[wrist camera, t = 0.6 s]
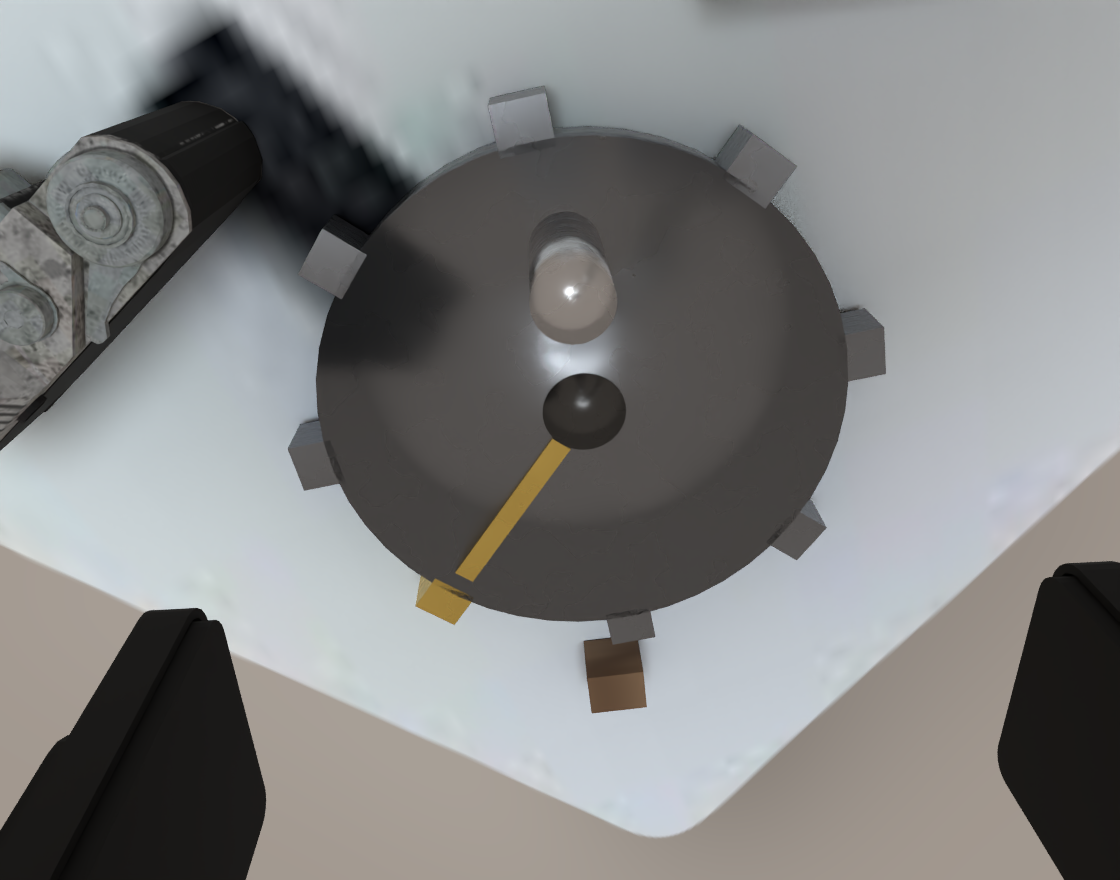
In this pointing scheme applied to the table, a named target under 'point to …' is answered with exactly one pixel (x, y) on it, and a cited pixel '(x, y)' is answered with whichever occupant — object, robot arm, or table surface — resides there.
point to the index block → (614, 675)
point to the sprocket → (581, 372)
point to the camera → (107, 241)
